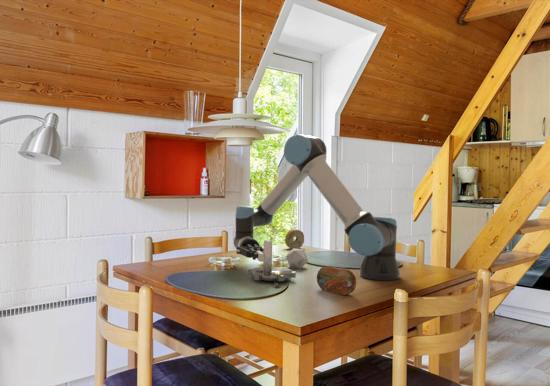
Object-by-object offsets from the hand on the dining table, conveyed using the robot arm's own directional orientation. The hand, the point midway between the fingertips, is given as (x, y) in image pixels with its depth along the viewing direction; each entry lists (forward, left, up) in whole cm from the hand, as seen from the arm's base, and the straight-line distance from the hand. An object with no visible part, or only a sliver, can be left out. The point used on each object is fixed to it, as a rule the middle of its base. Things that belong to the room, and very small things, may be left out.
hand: (262, 257), depth 171 cm
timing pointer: (-6, -2, -9) cm, 11 cm away
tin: (-24, -12, -10) cm, 29 cm away
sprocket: (+3, -8, -8) cm, 12 cm away
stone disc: (+48, -67, -10) cm, 83 cm away
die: (+13, -32, -10) cm, 36 cm away
